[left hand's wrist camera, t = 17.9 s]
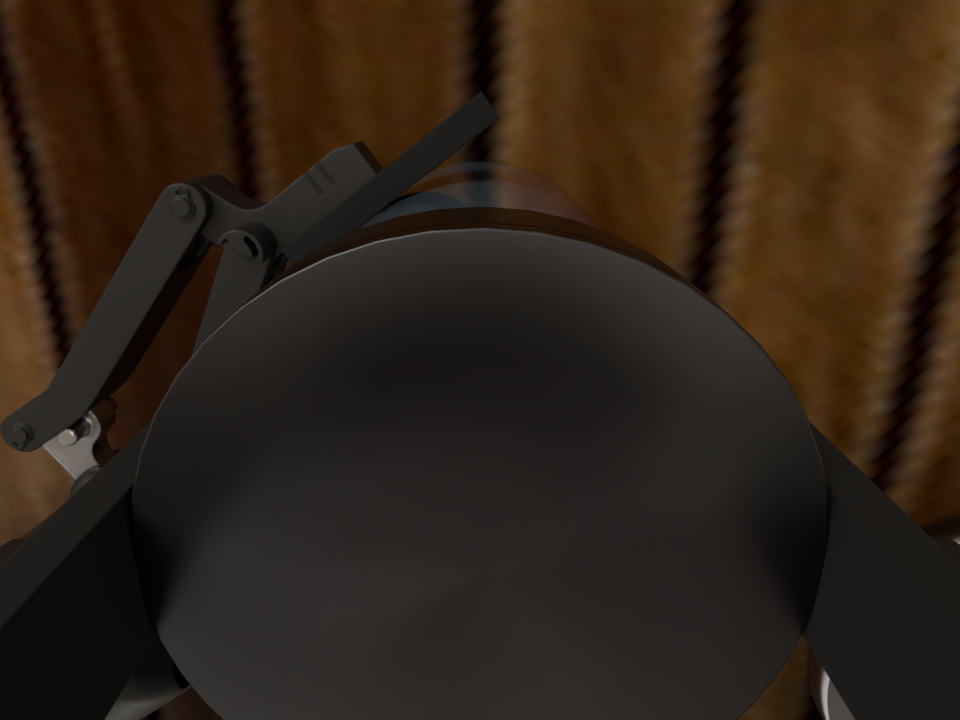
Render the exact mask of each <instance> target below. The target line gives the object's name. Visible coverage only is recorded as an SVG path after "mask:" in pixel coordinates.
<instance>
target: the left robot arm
mask: <svg viewBox="0 0 960 720" xmlns="http://www.w3.org/2000/svg"><path fill="white" fill-rule="evenodd" d="M151 422H152V421H151ZM151 422H150V423H148V424H147V425H146V426H145V427H144V428H143V429H142V430H141V431H140V432H139V433H138V434H137V435H136V436H135V437H134V438H133V439H132V440H131V441H130V442H129V443H127V444H126V445H125V446H124V447H123V448H122V449H121V450H120V451H119V452H118V453H117V454H116V455H115V456H114V457H113V458H112V459H111V460H110V461H109V462H107V463H106V464H105V465H104V466H103V467H102V468H101V469H100V470H99V471H98V472H97V473H96V474H95V475H94V476H93V477H92V478H91V479H90V480H89V481H88V482H86V483H85V484H84V485H83V486H82V487H81V488H80V489H79V490H78V491H77V492H76V493H75V494H74V495H73V496H72V497H71V498H70V499H69V500H68V501H67V502H65V503H64V504H63V505H62V506H61V507H60V508H59V509H58V510H57V511H56V512H55V513H54V514H53V515H52V516H51V517H50V518H49V519H48V520H47V521H45V522H44V523H43V524H42V525H41V526H40V527H39V528H38V529H37V530H36V531H35V532H34V533H33V534H32V535H31V536H30V537H29V538H28V539H13V540H11V541H9V542H8V543H6V544H4V545H2V546H1V547H0V720H105V718H106V717H107V715H108V713H109V712H110V710H111V709H112V707H113V705H114V704H115V702H116V700H117V699H118V697H119V696H120V694H121V692H122V691H123V689H124V687H125V686H126V684H127V683H128V681H129V679H130V678H131V676H132V674H133V673H134V671H135V669H136V668H137V666H138V665H139V663H140V661H141V660H142V658H143V656H144V655H145V653H146V652H147V650H148V648H149V647H150V645H151V643H152V642H153V640H154V638H155V637H156V635H157V634H158V633H157V631H156V628H155V626H154V624H153V622H152V619H151V617H150V615H149V613H148V610H147V608H146V606H145V602H144V598H143V594H142V590H141V586H140V581H139V577H138V573H137V568H136V563H135V558H134V552H133V545H132V537H131V514H132V491H133V486H134V481H135V476H136V471H137V466H138V461H139V456H140V451H141V449H142V446H143V443H144V441H145V438H146V435H147V433H148V430H149V427H150V424H151ZM809 423H810V422H809ZM810 426H811V429H812V432H813V435H814V438H815V441H816V444H817V447H818V450H819V453H820V456H821V459H822V464H823V470H824V476H825V482H826V488H827V494H828V515H829V540H828V546H827V551H826V556H825V561H824V566H823V571H822V576H821V580H820V584H819V589H818V593H817V597H816V601H815V604H814V607H813V610H812V613H811V616H810V618H809V620H808V622H807V624H806V626H805V628H804V630H803V632H802V634H803V636H804V638H805V639H806V641H807V642H808V644H809V646H810V651H809V660H808V678H809V685H810V690H811V693H812V697H813V700H814V702H815V704H816V706H817V709H818V710H819V712H820V714H821V716H822V718H823V719H824V720H960V516H958V517H954V518H951V519H948V520H944V521H941V522H939V523H936V524H934V525H931V526H928V527H926V528H923V529H921V528H920V527H919V526H918V525H917V524H916V523H915V522H914V521H913V520H912V519H911V518H910V517H909V516H908V515H907V514H906V513H905V512H904V511H902V510H901V509H900V508H899V507H898V506H897V505H896V504H895V503H894V502H893V501H892V500H891V499H890V498H889V497H888V496H887V495H886V494H885V493H884V492H883V491H881V490H880V489H879V488H878V487H877V486H876V485H875V484H874V483H873V482H872V481H871V480H870V479H869V478H868V477H867V476H866V475H865V474H864V473H863V472H862V471H860V470H859V469H858V468H857V467H856V466H855V465H854V464H853V463H852V462H851V461H850V460H849V459H848V458H847V457H846V456H845V455H844V454H843V453H842V452H841V451H839V450H838V449H837V448H836V447H835V446H834V445H833V444H832V443H831V442H830V441H829V440H828V439H827V438H826V437H825V436H824V435H823V434H822V433H821V432H819V431H818V430H817V429H816V428H815V427H814V426H813V425H812V424H811V423H810Z"/></svg>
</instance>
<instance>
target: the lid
mask: <svg viewBox="0 0 960 720" xmlns="http://www.w3.org/2000/svg"><path fill="white" fill-rule="evenodd" d="M131 537H132V545H133V552H134V558H135V563H136V568H137V573H138V577H139V581H140V586H141V590H142V594H143V598H144V602H145V606H146V608H147V610H148V613H149V615H150V617H151V619H152V622H153V624H154V626H155V628H156V631H157V633H158V635H159V637H160V640H161V642H162V643H163V645H164V646H165V648H166V650H167V651H168V653H169V654H170V656H171V658H172V659H173V661H174V662H175V664H176V666H177V667H178V669H179V670H180V672H181V673H182V675H183V676H184V677H185V678H186V679H187V681H188V682H189V683H190V684H191V686H192V687H193V688H194V689H195V690H196V692H197V693H198V694H199V695H200V697H201V698H202V699H203V700H204V701H205V702H206V703H207V704H208V705H209V706H210V707H211V708H212V709H213V710H214V711H215V712H216V713H217V714H218V715H219V716H220V717H221V718H222V719H223V720H736V719H737V718H739V717H740V716H741V715H742V714H743V713H744V712H745V711H746V710H747V709H748V708H749V707H751V705H752V704H753V703H754V702H755V701H756V700H757V698H758V697H759V696H760V695H761V694H762V693H763V691H764V690H765V689H766V688H767V687H768V686H769V684H770V683H771V682H772V681H773V680H774V679H775V677H776V676H777V674H778V673H779V671H780V670H781V668H782V667H783V665H784V664H785V662H786V661H787V659H788V658H789V656H790V655H791V653H792V651H793V650H794V648H795V647H796V645H797V643H798V641H799V639H800V636H801V634H802V632H803V630H804V628H805V626H806V624H807V622H808V620H809V618H810V616H811V613H812V610H813V607H814V604H815V601H816V597H817V593H818V589H819V584H820V580H821V576H822V571H823V566H824V561H825V556H826V551H827V546H828V540H829V515H828V494H827V488H826V482H825V476H824V470H823V464H822V459H821V456H820V453H819V450H818V447H817V444H816V441H815V438H814V435H813V432H812V429H811V426H810V423H809V421H808V418H807V417H806V415H805V413H804V411H803V409H802V407H801V405H800V403H799V401H798V400H797V398H796V396H795V394H794V392H793V390H792V388H791V386H790V384H789V383H788V381H787V380H786V378H785V377H784V376H783V374H782V373H781V372H780V370H779V369H778V368H777V366H776V365H775V364H774V362H773V361H772V360H771V358H770V357H769V356H768V354H767V353H766V352H765V350H764V349H763V348H762V346H761V345H760V344H759V343H758V342H757V341H756V340H755V339H754V338H753V337H752V336H751V335H749V334H748V333H747V332H746V331H745V330H744V329H743V328H742V327H741V326H740V325H739V324H738V323H737V322H736V321H735V320H734V319H733V318H732V317H731V316H730V315H729V314H728V313H727V312H726V311H725V310H723V309H722V308H721V307H720V306H718V305H717V304H716V303H715V302H714V301H712V300H711V299H710V298H709V297H708V296H706V295H705V294H704V293H703V292H701V291H700V290H699V289H698V288H697V287H695V286H694V285H693V284H692V283H691V282H689V281H688V280H687V279H686V278H684V277H683V276H681V275H680V274H679V273H677V272H676V271H675V270H673V269H672V268H670V267H669V266H668V265H666V264H665V263H664V262H662V261H661V260H659V259H658V258H657V257H655V256H654V255H652V254H651V253H649V252H647V251H645V250H643V249H641V248H639V247H637V246H635V245H634V244H632V243H630V242H628V241H626V240H624V239H622V238H620V237H618V236H616V235H615V234H612V233H609V232H606V231H604V230H601V229H598V228H595V227H592V226H590V225H587V224H584V223H581V222H579V221H576V220H573V219H569V218H564V217H559V216H555V215H550V214H545V213H541V212H536V211H531V210H523V209H510V208H497V207H465V208H447V209H436V210H431V211H425V212H420V213H415V214H410V215H404V216H399V217H394V218H391V219H388V220H385V221H382V222H379V223H376V224H373V225H370V226H367V227H364V228H361V229H358V230H355V231H352V232H350V233H348V234H346V235H344V236H342V237H340V238H338V239H336V240H334V241H332V242H330V243H328V244H326V245H324V246H322V247H320V248H318V249H316V250H314V251H313V252H311V253H310V254H308V255H307V256H305V257H304V258H302V259H301V260H299V261H298V262H297V263H295V264H294V265H292V266H291V267H289V268H288V269H286V270H285V271H283V272H282V273H281V274H279V275H278V276H277V277H275V278H274V279H273V280H272V281H271V282H269V283H268V284H267V285H266V286H265V287H263V288H262V289H261V290H260V291H259V292H257V293H256V294H255V295H254V296H252V297H251V298H250V299H249V300H248V301H246V302H245V303H244V304H243V305H242V306H240V307H239V308H238V309H237V310H236V311H235V312H234V313H233V314H232V315H231V316H229V317H228V318H227V319H226V320H225V321H224V322H223V323H222V324H221V325H220V326H219V327H218V328H216V329H215V330H214V331H213V332H212V333H211V334H210V335H209V336H208V337H207V338H206V339H205V340H204V341H203V342H202V343H201V345H200V346H199V347H198V348H197V350H196V351H195V352H194V353H193V355H192V356H191V357H190V358H189V360H188V361H187V362H186V364H185V365H184V366H183V367H182V369H181V370H180V371H179V372H178V374H177V375H176V376H175V378H174V380H173V382H172V384H171V385H170V387H169V389H168V391H167V392H166V394H165V396H164V398H163V399H162V401H161V403H160V405H159V406H158V408H157V410H156V412H155V414H154V416H153V419H152V422H151V424H150V427H149V430H148V433H147V435H146V438H145V441H144V443H143V446H142V449H141V451H140V456H139V461H138V466H137V471H136V476H135V481H134V486H133V491H132V514H131Z"/></svg>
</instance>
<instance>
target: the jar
mask: <svg viewBox="0 0 960 720" xmlns="http://www.w3.org/2000/svg"><path fill="white" fill-rule="evenodd" d="M465 207H497V208H510V209H523V210H531V211H536V212H541V213H545V214H550V215H555V216H559V217H564V218H569V219H573V220H576V221H579V222H581V223H584V224H587V225H590V226H592V227H595V228H598V229H601V230H604V229H603V228H602V227H601V226H600V225H599V224H598V223H597V222H596V221H595V220H594V219H593V218H592V217H591V216H590V215H588V214H587V213H586V212H585V211H584V210H583V209H582V208H581V207H580V206H579V205H578V204H577V203H576V202H575V201H574V200H573V199H572V198H571V197H570V196H568V195H567V194H566V193H565V192H564V191H563V190H561V189H560V188H559V187H557V186H556V185H554V184H553V183H551V182H550V181H548V180H547V179H545V178H543V177H541V176H539V175H537V174H535V173H532V172H530V171H528V170H525V169H522V168H518V167H515V166H512V165H507V164H501V163H495V162H467V163H457V164H453V165H449V166H445V167H441V168H438V169H435V170H433V171H431V172H429V173H428V174H427V175H426V176H424V177H423V178H422V179H420V180H419V181H418V182H417V183H415V184H414V185H413V186H411V187H410V188H409V189H408V190H406V191H405V192H404V193H402V194H401V195H400V196H399V197H397V198H396V199H395V200H393V201H392V202H391V203H390V204H388V205H387V206H386V207H385V208H383V209H382V210H381V211H379V212H378V213H377V214H376V215H374V216H373V217H372V218H370V219H369V220H368V221H367V222H365V223H364V224H363V225H361V226H360V227H359V228H358V229H361V228H364V227H367V226H370V225H373V224H376V223H379V222H382V221H385V220H388V219H391V218H394V217H399V216H404V215H410V214H415V213H420V212H425V211H431V210H436V209H447V208H465ZM358 229H356V230H358ZM604 231H605V230H604Z"/></svg>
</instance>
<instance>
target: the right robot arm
mask: <svg viewBox="0 0 960 720" xmlns="http://www.w3.org/2000/svg"><path fill="white" fill-rule="evenodd" d="M497 119H499V116H498V115H497V113H496V112H495V110H494V109H493V107H492V106H491V104H490V103H489V101H488V100H487V99H486V97H485V96H484V94H483V93H482V91H481V92H480V93H478V94H477V95H476V96H475V97H473V98H472V99H471V100H470V101H468V102H467V103H466V104H465V105H463V106H462V107H461V108H460V109H458V110H457V111H456V112H455V113H453V114H452V115H451V116H450V117H448V118H447V119H446V120H444V121H443V122H442V123H441V124H439V125H438V126H437V127H436V128H434V129H433V130H432V131H431V132H429V133H428V134H427V135H426V136H424V137H423V138H422V139H421V140H419V141H418V142H417V143H416V144H414V145H413V146H412V147H411V148H409V149H408V150H407V151H405V152H404V153H403V154H402V155H400V156H399V157H398V158H397V159H395V160H394V161H393V162H392V163H390V164H389V165H388V166H387V167H385V168H384V169H383V168H382V166H381V165H380V164H379V162H378V161H377V160H376V159H375V157H374V156H373V155H372V153H371V152H370V151H369V149H368V148H367V147H366V145H365V144H364V143H363V141H361V142H357V143H354V144H350V145H347V146H343V147H339V148H336V149H333V150H332V151H331V152H329V153H328V154H327V155H326V156H324V157H323V158H322V159H321V160H320V161H318V162H317V163H316V164H315V165H313V166H312V167H311V168H310V169H309V170H307V171H306V172H305V173H304V174H303V175H301V176H300V177H299V178H298V179H296V180H295V181H294V182H293V183H292V184H290V185H289V186H288V187H287V188H285V189H284V190H283V191H282V192H281V193H279V194H278V195H277V196H276V197H274V198H273V199H272V200H271V201H270V202H268V203H262V202H257V201H254V200H252V199H250V198H248V197H247V196H245V195H244V194H242V193H240V192H239V191H237V190H236V189H235V187H234V185H233V184H232V183H231V182H230V181H229V180H228V179H227V178H225V177H223V176H221V175H213V174H211V175H207V176H202V177H198V178H194V179H190V180H186V181H182V182H178V183H175V184H172V185H169V186H167V187H166V188H165V189H164V190H163V192H162V193H161V195H160V196H159V198H158V200H157V201H156V203H155V205H154V207H153V208H152V210H151V212H150V213H149V215H148V217H147V219H146V220H145V222H144V224H143V226H142V227H141V229H140V231H139V232H138V234H137V236H136V238H135V239H134V241H133V243H132V245H131V246H130V248H129V250H128V251H127V253H126V255H125V257H124V258H123V260H122V262H121V264H120V265H119V267H118V269H117V270H116V272H115V274H114V276H113V277H112V279H111V281H110V282H109V284H108V286H107V288H106V289H105V291H104V293H103V295H102V296H101V298H100V300H99V301H98V303H97V305H96V307H95V308H94V310H93V312H92V314H91V315H90V317H89V319H88V320H87V322H86V324H85V326H84V327H83V329H82V331H81V333H80V334H79V336H78V338H77V339H76V341H75V343H74V345H73V346H72V348H71V350H70V351H69V353H68V355H67V357H66V358H65V360H64V362H63V364H62V365H61V367H60V369H59V370H58V372H57V374H56V376H55V377H54V379H53V381H52V383H51V384H50V386H49V388H48V389H47V390H46V391H44V392H43V393H41V394H40V395H39V396H37V397H36V398H34V399H33V400H31V401H30V402H28V403H27V404H26V405H24V406H23V407H21V408H20V409H18V410H17V411H16V412H14V413H13V414H11V415H10V416H8V417H7V418H6V419H5V420H4V421H3V422H2V424H1V429H0V431H1V435H2V438H3V439H4V440H5V442H6V443H7V444H8V445H9V446H11V447H12V448H13V449H16V450H19V451H21V452H31V451H33V450H36V449H38V448H39V447H41V446H43V447H44V448H45V449H46V450H47V451H48V452H49V453H50V454H51V455H52V456H53V457H54V458H55V459H56V460H57V461H58V462H59V463H60V464H61V465H62V466H63V467H64V468H65V469H66V470H67V471H68V473H69V474H70V475H71V476H72V477H73V478H74V479H75V482H74V484H73V486H72V488H71V492H70V496H69V499H70V498H71V497H72V496H73V495H74V494H75V493H76V492H77V491H78V490H79V489H80V488H81V487H82V486H83V485H84V484H85V483H86V482H88V481H89V480H90V479H91V478H92V477H93V476H94V475H95V474H96V473H97V472H98V471H99V470H100V469H101V468H102V467H103V466H104V465H105V464H106V463H107V462H109V461H110V460H111V459H112V458H113V457H114V456H115V455H116V454H117V453H118V452H119V451H120V450H114V451H113V450H112V449H111V447H110V446H109V444H108V441H107V434H108V431H109V430H110V428H111V427H112V426H113V424H114V423H115V419H116V415H115V411H116V409H117V403H116V401H115V400H114V399H113V398H111V397H109V396H110V395H111V394H112V393H114V392H115V391H116V390H117V389H119V388H120V387H121V386H122V384H123V383H124V382H125V381H126V380H127V379H128V378H129V376H130V375H131V374H132V372H133V371H134V370H135V368H136V366H137V365H138V363H139V362H140V360H141V358H142V357H143V355H144V353H145V352H146V350H147V349H148V347H149V345H150V344H151V342H152V341H153V339H154V337H155V336H156V334H157V333H158V331H159V329H160V328H161V326H162V325H163V323H164V321H165V320H166V318H167V316H168V315H169V313H170V312H171V310H172V308H173V307H174V305H175V304H176V302H177V300H178V299H179V297H180V296H181V294H182V292H183V291H184V289H185V288H186V286H187V284H188V283H189V281H190V279H191V278H192V276H193V275H194V273H195V271H196V270H197V268H198V267H199V265H200V263H201V262H202V260H203V259H204V257H205V255H206V254H207V252H208V251H209V249H210V247H211V246H212V244H213V243H214V244H216V245H218V246H219V247H221V248H223V249H224V250H223V253H222V256H221V260H220V263H219V266H218V270H217V273H216V276H215V279H214V283H213V286H212V289H211V293H210V296H209V299H208V303H207V306H206V309H205V313H204V316H203V319H202V323H201V326H200V329H199V332H198V336H197V339H196V342H195V346H194V349H193V352H192V355H193V353H194V352H195V351H196V350H197V348H198V347H199V346H200V345H201V343H202V342H203V341H204V340H205V339H206V338H207V337H208V336H209V335H210V334H211V333H212V332H213V331H214V330H215V329H216V328H218V327H219V326H220V325H221V324H222V323H223V322H224V321H225V320H226V319H227V318H228V317H229V316H231V315H232V314H233V313H234V312H235V311H236V310H237V309H238V308H239V307H240V306H242V305H243V304H244V303H245V302H246V301H248V300H249V299H250V298H251V297H252V296H254V295H255V294H256V293H257V292H259V291H260V290H261V289H262V288H263V287H265V286H266V285H267V284H268V283H269V282H271V281H272V280H273V279H274V278H275V277H277V276H278V275H279V274H281V273H282V272H283V271H284V270H285V267H286V264H287V261H288V260H289V261H290V262H291V263H292V264H293V265H294V264H295V263H297V262H298V261H299V260H301V259H302V258H304V257H305V256H307V255H308V254H310V253H311V252H313V251H314V250H316V249H318V248H320V247H322V246H324V245H326V244H328V243H330V242H332V241H334V240H336V239H338V238H340V237H342V236H344V235H346V234H348V233H350V232H352V231H355V230H356V229H358V228H359V227H360V226H361V225H363V224H364V223H365V222H367V221H368V220H369V219H370V218H372V217H373V216H374V215H376V214H377V213H378V212H379V211H381V210H382V209H383V208H385V207H386V206H387V205H388V204H390V203H391V202H392V201H393V200H395V199H396V198H397V197H399V196H400V195H401V194H402V193H404V192H405V191H406V190H408V189H409V188H410V187H411V186H413V185H414V184H415V183H417V182H418V181H419V180H420V179H422V178H423V177H424V176H426V175H427V174H428V173H429V172H431V171H432V170H433V169H435V168H436V167H437V166H438V165H440V164H441V163H442V162H444V161H445V160H446V159H447V158H449V157H450V156H451V155H453V154H454V153H455V152H456V151H458V150H459V149H460V148H462V147H463V146H464V145H465V144H467V143H468V142H469V141H471V140H472V139H473V138H474V137H476V136H477V135H478V134H480V133H481V132H482V131H483V130H485V129H486V128H487V127H489V126H490V125H491V124H492V123H494V122H495V121H496V120H497ZM69 499H68V500H69ZM55 512H56V511H55ZM55 512H54V513H55ZM54 513H53V514H54ZM53 514H51V515H50V516H49V517H47V518H46V519H45V520H43V521H42V522H41V523H39V524H38V525H37V526H35V527H34V528H33V529H31V530H30V531H29V532H28V533H26V534H25V535H24V536H22V537H21V538H20V539H28V538H29V537H30V536H31V535H32V534H33V533H34V532H35V531H36V530H37V529H38V528H39V527H40V526H41V525H42V524H43V523H44V522H45V521H47V520H48V519H49V518H50V517H51V516H52V515H53ZM191 687H192V686H191V684H190V683H189V682H188V681H187V679H186V678H185V677H184V676H183V675H182V673H181V672H180V670H179V669H178V667H177V666H176V664H175V662H174V661H173V659H172V658H171V656H170V654H169V653H168V651H167V650H166V648H165V646H164V645H163V643H162V642H161V640H160V637H159V635H158V634H157V635H156V637H155V638H154V640H153V642H152V643H151V645H150V647H149V648H148V650H147V652H146V653H145V655H144V656H143V658H142V660H141V661H140V663H139V665H138V666H137V668H136V669H135V671H134V673H133V674H132V676H131V678H130V679H129V681H128V683H127V684H126V686H125V687H124V689H123V691H122V692H121V694H120V696H119V697H118V699H117V700H116V702H115V704H114V705H113V707H112V709H111V710H110V712H109V713H108V715H107V717H106V718H105V720H141V719H143V718H144V717H146V716H147V715H149V714H151V713H152V712H154V711H155V710H157V709H158V708H160V707H162V706H163V705H165V704H166V703H168V702H169V701H171V700H173V699H174V698H176V697H177V696H179V695H180V694H182V693H184V692H185V691H187V690H188V689H190V688H191Z"/></svg>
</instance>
